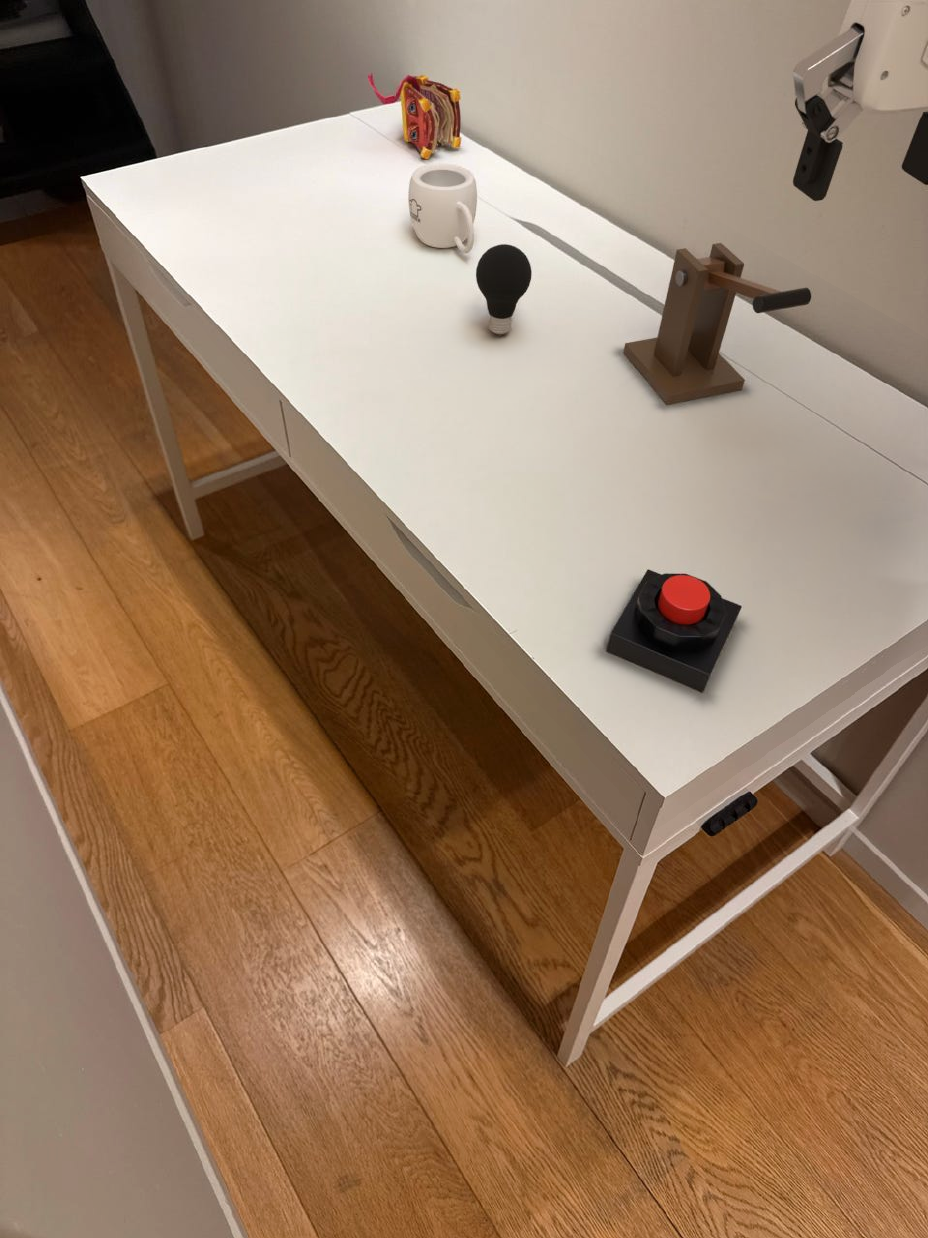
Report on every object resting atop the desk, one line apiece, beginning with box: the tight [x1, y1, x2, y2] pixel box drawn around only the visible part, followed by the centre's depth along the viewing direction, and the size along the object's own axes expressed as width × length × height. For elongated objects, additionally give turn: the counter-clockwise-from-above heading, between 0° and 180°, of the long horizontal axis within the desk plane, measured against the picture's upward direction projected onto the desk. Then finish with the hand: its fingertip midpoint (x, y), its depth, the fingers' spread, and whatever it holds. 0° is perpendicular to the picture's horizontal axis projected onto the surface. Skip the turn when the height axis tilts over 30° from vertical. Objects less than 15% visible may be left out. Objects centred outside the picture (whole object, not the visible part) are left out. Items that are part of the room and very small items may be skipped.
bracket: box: [623, 242, 746, 405], centre depth 90 cm, size 10×9×13 cm
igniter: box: [605, 568, 743, 693], centre depth 69 cm, size 8×8×4 cm
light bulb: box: [475, 243, 533, 337], centre depth 95 cm, size 6×6×10 cm
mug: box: [407, 162, 478, 254], centre depth 109 cm, size 12×8×8 cm
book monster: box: [367, 72, 462, 160], centre depth 127 cm, size 11×9×12 cm
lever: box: [696, 256, 812, 314], centre depth 82 cm, size 14×5×2 cm, turn 20°
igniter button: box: [658, 575, 710, 625], centre depth 67 cm, size 4×4×2 cm
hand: (863, 184), depth 65 cm, fingers open, 9 cm apart
